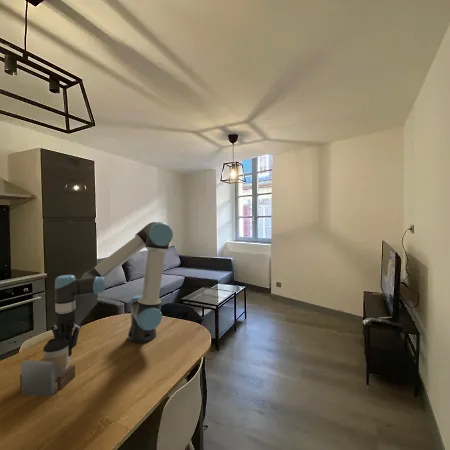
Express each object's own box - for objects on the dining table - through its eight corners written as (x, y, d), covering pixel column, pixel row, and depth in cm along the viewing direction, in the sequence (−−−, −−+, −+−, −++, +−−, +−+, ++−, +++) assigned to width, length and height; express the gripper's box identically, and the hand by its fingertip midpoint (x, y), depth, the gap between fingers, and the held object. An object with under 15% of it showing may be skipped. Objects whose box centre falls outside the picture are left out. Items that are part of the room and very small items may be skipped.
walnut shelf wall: (89, 363, 115) (89, 350, 115) (59, 391, 96) (58, 376, 96) (57, 361, 116) (56, 348, 116) (20, 389, 97) (19, 374, 97)
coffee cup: (74, 371, 108) (73, 337, 108) (53, 384, 100) (52, 347, 100) (60, 367, 112) (59, 334, 111) (38, 379, 103) (37, 343, 103)
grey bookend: (55, 392, 96) (55, 361, 95) (51, 396, 94) (51, 364, 93) (26, 390, 97) (25, 360, 96) (21, 394, 95) (21, 363, 94)
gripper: (85, 308, 114) (86, 359, 115) (58, 307, 115) (59, 357, 116) (73, 314, 107) (74, 368, 107) (45, 313, 108) (46, 367, 108)
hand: (66, 363), depth 112 cm, fingers closed
